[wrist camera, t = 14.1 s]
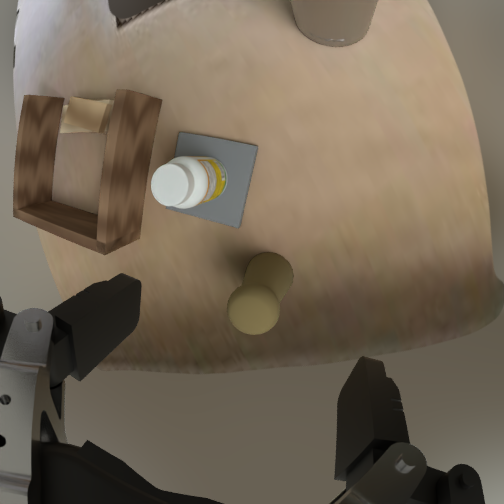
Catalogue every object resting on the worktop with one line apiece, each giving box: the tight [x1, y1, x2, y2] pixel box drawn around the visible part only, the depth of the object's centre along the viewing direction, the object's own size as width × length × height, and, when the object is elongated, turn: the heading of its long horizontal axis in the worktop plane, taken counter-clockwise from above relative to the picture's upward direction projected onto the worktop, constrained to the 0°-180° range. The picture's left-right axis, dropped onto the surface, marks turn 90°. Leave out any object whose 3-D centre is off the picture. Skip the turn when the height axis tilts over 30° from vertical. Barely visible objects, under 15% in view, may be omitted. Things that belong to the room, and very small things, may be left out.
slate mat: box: [166, 132, 258, 228], centre depth 35 cm, size 10×10×1 cm
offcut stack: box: [60, 97, 114, 134], centre depth 35 cm, size 6×12×4 cm, turn 77°
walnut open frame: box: [13, 90, 162, 255], centre depth 35 cm, size 20×22×8 cm
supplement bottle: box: [151, 156, 227, 209], centre depth 31 cm, size 5×5×10 cm
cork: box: [227, 252, 294, 335], centre depth 33 cm, size 6×6×11 cm
